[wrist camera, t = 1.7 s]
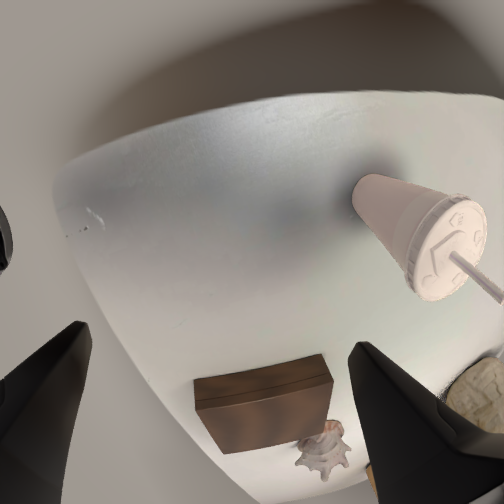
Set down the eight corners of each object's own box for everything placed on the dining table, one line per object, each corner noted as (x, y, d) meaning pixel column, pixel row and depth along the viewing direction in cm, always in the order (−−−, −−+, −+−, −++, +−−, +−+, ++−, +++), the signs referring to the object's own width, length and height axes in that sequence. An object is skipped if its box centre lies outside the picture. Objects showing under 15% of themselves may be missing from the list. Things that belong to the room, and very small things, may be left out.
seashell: (290, 453, 44) (302, 493, 36) (287, 431, 38) (301, 481, 30) (340, 437, 45) (355, 475, 37) (347, 413, 39) (367, 459, 31)
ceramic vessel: (496, 399, 49) (491, 474, 31) (432, 389, 60) (415, 469, 42) (536, 348, 38) (547, 434, 19) (465, 334, 49) (463, 431, 30)
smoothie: (351, 145, 19) (518, 224, 7) (411, 170, 20) (549, 249, 8) (325, 225, 21) (441, 361, 9) (386, 238, 23) (496, 346, 11)
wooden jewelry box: (220, 431, 35) (223, 454, 31) (193, 379, 28) (195, 410, 24) (315, 410, 36) (323, 433, 32) (321, 353, 29) (334, 381, 26)
